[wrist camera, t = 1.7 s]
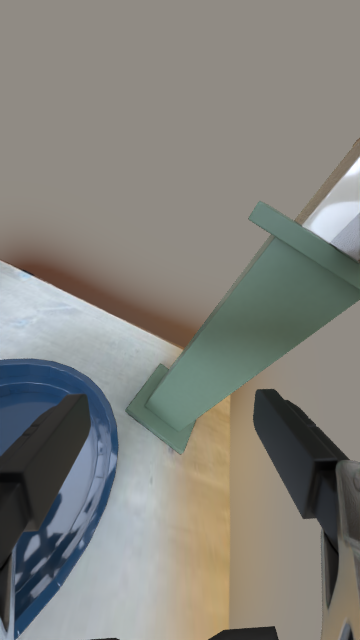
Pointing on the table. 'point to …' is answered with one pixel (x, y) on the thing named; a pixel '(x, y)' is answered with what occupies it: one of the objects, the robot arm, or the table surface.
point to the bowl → (78, 488)
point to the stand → (250, 325)
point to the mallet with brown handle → (337, 207)
